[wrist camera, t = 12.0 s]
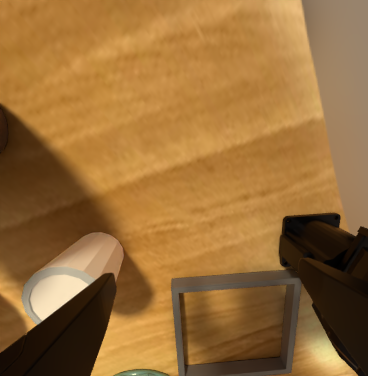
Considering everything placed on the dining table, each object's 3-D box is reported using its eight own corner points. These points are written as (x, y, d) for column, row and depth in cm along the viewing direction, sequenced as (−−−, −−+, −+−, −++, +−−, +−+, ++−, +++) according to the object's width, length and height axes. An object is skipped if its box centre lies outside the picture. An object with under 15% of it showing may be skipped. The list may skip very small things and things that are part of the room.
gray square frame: (294, 269, 23) (302, 277, 22) (285, 360, 27) (291, 373, 25) (171, 278, 23) (171, 287, 21) (179, 370, 26) (179, 383, 25)
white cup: (82, 283, 22) (41, 344, 16) (60, 234, 21) (4, 278, 14) (136, 271, 22) (118, 327, 16) (118, 220, 21) (90, 258, 14)
